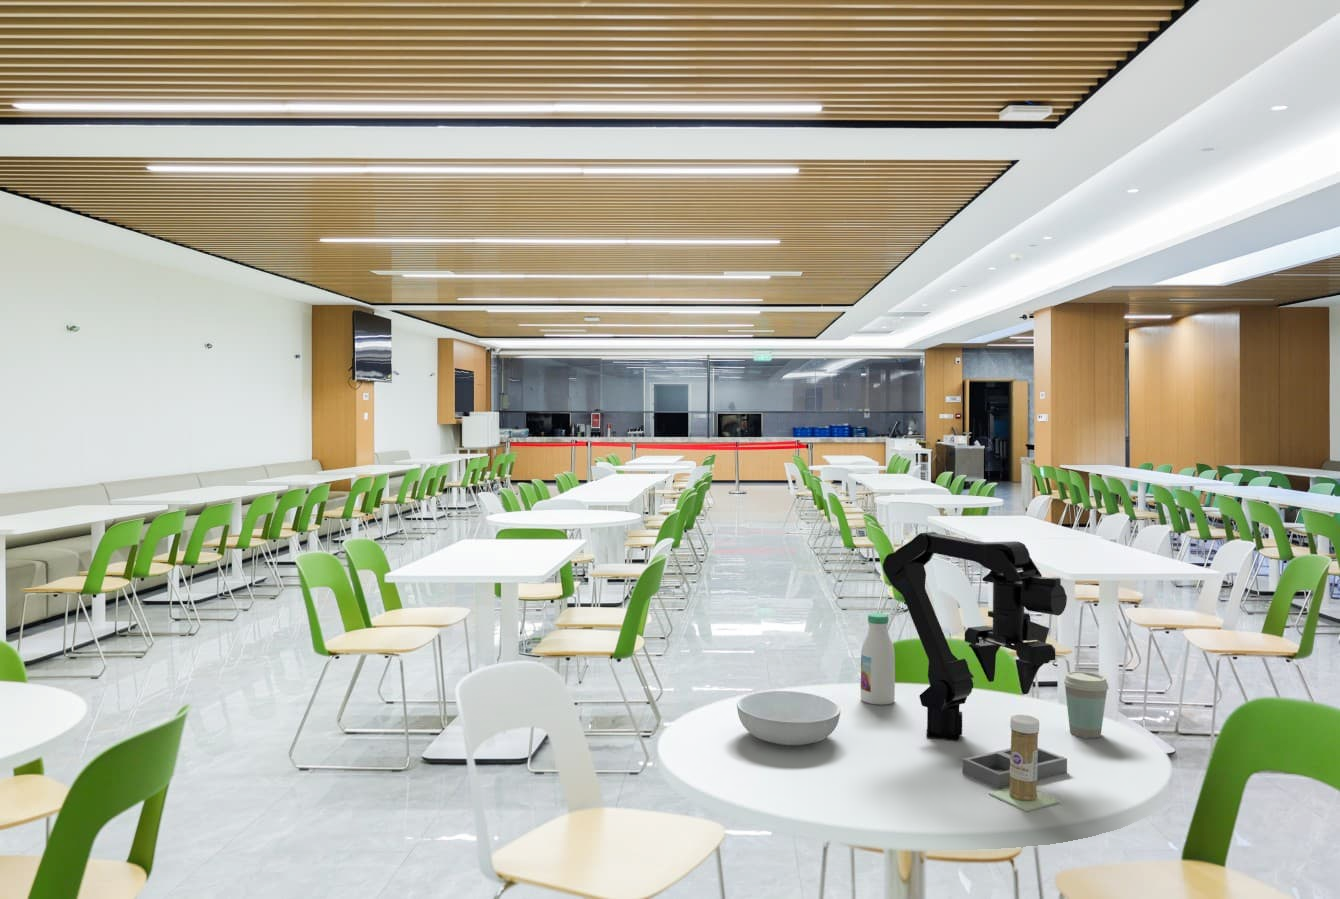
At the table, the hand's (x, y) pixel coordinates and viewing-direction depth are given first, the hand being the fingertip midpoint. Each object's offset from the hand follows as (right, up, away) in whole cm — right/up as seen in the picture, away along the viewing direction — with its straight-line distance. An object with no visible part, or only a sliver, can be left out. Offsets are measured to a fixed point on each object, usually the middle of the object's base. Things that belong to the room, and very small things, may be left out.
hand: (1007, 687), depth 175 cm
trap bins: (-2, -13, -9) cm, 16 cm away
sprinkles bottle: (-5, -13, -21) cm, 25 cm away
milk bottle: (-17, -13, +35) cm, 41 cm away
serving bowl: (-41, -13, +9) cm, 44 cm away
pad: (-5, -13, -21) cm, 25 cm away
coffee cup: (+21, -13, +12) cm, 27 cm away
